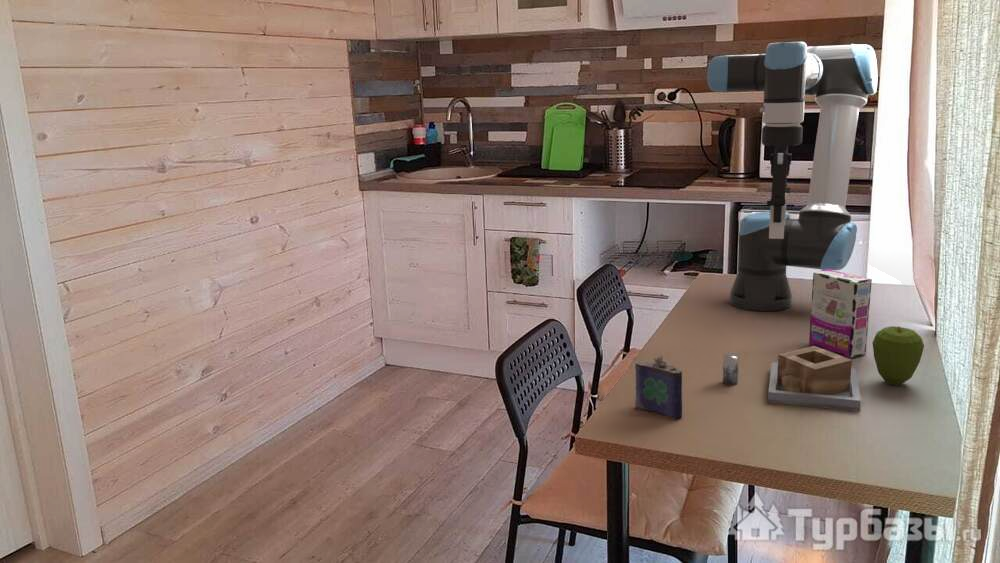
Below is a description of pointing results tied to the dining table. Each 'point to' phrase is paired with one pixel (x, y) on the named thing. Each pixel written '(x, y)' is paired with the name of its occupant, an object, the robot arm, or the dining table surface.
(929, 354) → the dining table surface
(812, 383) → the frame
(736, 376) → the silver capsule
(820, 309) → the candy bar box
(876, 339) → the apple
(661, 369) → the flask
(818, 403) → the tray
